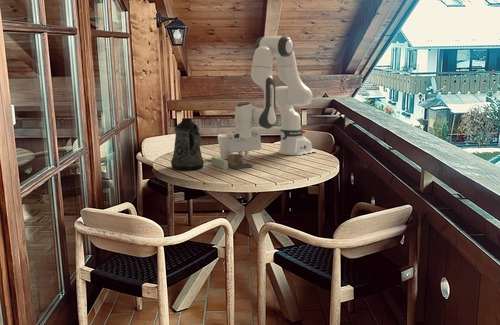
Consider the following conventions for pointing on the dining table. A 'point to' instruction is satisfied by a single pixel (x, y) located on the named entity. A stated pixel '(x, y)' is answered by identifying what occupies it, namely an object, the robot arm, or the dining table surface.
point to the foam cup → (223, 146)
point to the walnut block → (235, 159)
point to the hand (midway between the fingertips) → (243, 159)
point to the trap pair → (240, 166)
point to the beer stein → (187, 147)
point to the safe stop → (220, 162)
